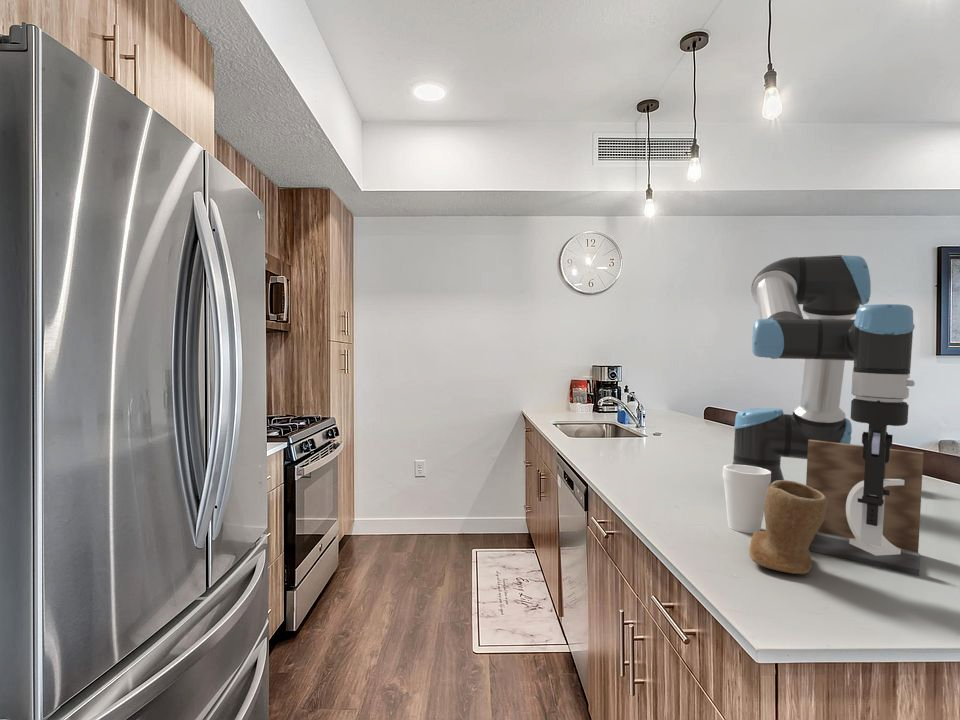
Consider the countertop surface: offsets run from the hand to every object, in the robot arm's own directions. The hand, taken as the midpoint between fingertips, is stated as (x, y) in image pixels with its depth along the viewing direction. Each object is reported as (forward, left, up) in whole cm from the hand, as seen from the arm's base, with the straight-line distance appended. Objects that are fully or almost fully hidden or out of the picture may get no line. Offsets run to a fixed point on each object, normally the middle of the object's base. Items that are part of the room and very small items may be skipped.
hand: (871, 537), depth 88 cm
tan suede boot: (-13, +2, -9) cm, 15 cm away
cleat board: (-3, +19, -8) cm, 21 cm away
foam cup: (-23, +18, -8) cm, 30 cm away
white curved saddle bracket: (0, -1, -2) cm, 2 cm away
